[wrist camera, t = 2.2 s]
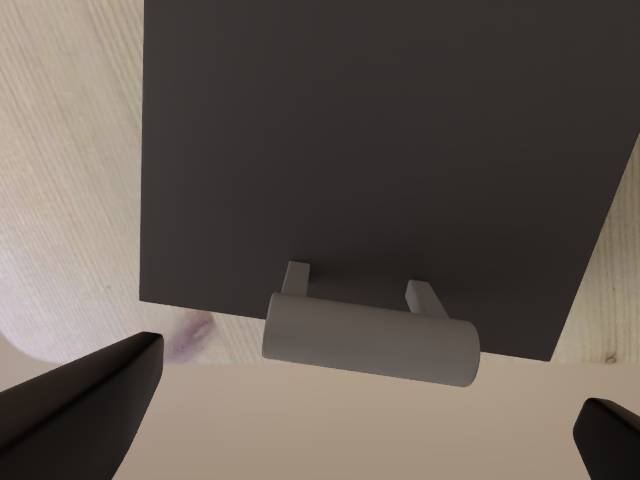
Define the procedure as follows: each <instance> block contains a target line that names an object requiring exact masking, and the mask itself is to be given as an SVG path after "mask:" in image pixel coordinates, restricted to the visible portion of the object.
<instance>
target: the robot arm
mask: <svg viewBox="0 0 640 480" xmlns="http://www.w3.org/2000/svg"><path fill="white" fill-rule="evenodd" d="M163 353H164V338H163V336H162V335H161V334H158V333H151V332H140V333H138V334H135V335H133V336H131V337H128V338H126V339H124V340H121V341H119V342H117V343H114V344H112V345H110V346H107V347H105V348H103V349H100V350H98V351H96V352H93V353H91V354H89V355H86V356H84V357H82V358H79V359H77V360H75V361H72V362H70V363H68V364H65V365H63V366H61V367H58V368H56V369H54V370H51V371H49V372H47V373H44V374H42V375H40V376H37V377H35V378H33V379H30V380H28V381H26V382H23V383H21V384H19V385H16V386H14V387H12V388H9V389H7V390H4V391H3V392H0V480H112V478H113V476H114V475H115V473H116V471H117V469H118V468H119V466H120V464H121V463H122V461H123V459H124V457H125V455H126V454H127V452H128V450H129V448H130V446H131V444H132V442H133V439H134V437H135V435H136V433H137V431H138V428H139V426H140V424H141V421H142V419H143V417H144V415H145V413H146V410H147V408H148V406H149V404H150V401H151V399H152V397H153V395H154V392H155V390H156V388H157V386H158V383H159V381H160V378H161V375H162V371H163ZM573 437H574V441H575V443H576V446H577V448H578V450H579V453H580V455H581V457H582V460H583V462H584V464H585V466H586V469H587V471H588V473H589V475H590V478H591V480H640V417H639V416H638V415H636V414H634V413H632V412H631V411H629V410H627V409H625V408H624V407H622V406H620V405H618V404H616V403H615V402H613V401H610V400H606V399H599V398H588V399H587V400H586V401H585V403H584V405H583V407H582V409H581V411H580V414H579V416H578V418H577V420H576V423H575V425H574V428H573Z"/></svg>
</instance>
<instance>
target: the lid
mask: <svg viewBox="0 0 640 480" xmlns="http://www.w3.org/2000/svg"><path fill="white" fill-rule="evenodd" d="M639 132H640V0H144V44H143V104H142V165H141V225H140V285H139V300H140V301H144V302H151V303H158V304H164V305H171V306H178V307H184V308H191V309H198V310H205V311H211V312H218V313H225V314H232V315H238V316H245V317H252V318H258V319H265V320H266V324H265V330H264V336H263V344H262V356H263V357H264V358H267V359H274V360H281V361H288V362H295V363H301V364H308V365H315V366H322V367H329V368H336V369H343V370H349V371H357V372H363V373H370V374H377V375H384V376H390V377H397V378H404V379H411V380H418V381H425V382H431V383H438V384H446V385H452V386H459V387H467V386H469V385H470V384H471V383H472V382H473V381H474V379H475V377H476V374H477V371H478V367H479V361H480V352H487V353H494V354H500V355H507V356H514V357H520V358H527V359H534V360H541V361H547V362H549V361H550V360H551V358H552V355H553V353H554V350H555V347H556V345H557V342H558V340H559V337H560V335H561V332H562V329H563V327H564V324H565V322H566V319H567V317H568V314H569V312H570V309H571V306H572V304H573V301H574V299H575V296H576V294H577V291H578V288H579V286H580V283H581V281H582V278H583V276H584V273H585V270H586V268H587V265H588V263H589V260H590V258H591V255H592V253H593V250H594V247H595V245H596V242H597V240H598V237H599V235H600V232H601V229H602V227H603V224H604V222H605V219H606V217H607V214H608V211H609V209H610V206H611V204H612V201H613V199H614V196H615V194H616V191H617V188H618V186H619V183H620V181H621V178H622V176H623V173H624V170H625V168H626V165H627V163H628V160H629V158H630V155H631V152H632V150H633V147H634V145H635V142H636V140H637V137H638V135H639Z"/></svg>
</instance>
